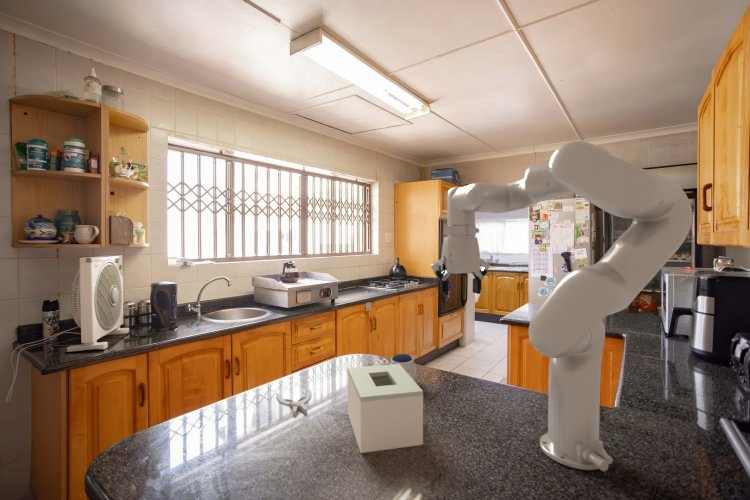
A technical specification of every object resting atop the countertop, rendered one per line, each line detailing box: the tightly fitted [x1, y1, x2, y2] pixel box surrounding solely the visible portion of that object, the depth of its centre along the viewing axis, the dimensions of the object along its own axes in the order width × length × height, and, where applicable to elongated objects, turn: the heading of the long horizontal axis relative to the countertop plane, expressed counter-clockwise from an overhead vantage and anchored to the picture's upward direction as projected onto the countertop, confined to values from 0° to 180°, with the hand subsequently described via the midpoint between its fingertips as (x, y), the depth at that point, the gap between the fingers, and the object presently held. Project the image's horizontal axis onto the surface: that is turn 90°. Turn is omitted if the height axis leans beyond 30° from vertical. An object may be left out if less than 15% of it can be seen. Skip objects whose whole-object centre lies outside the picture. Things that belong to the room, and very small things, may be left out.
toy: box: [366, 353, 418, 381], centre depth 111 cm, size 18×9×20 cm
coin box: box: [347, 364, 424, 454], centre depth 87 cm, size 18×14×12 cm
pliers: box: [276, 388, 312, 417], centre depth 101 cm, size 10×2×15 cm
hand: (460, 293), depth 101 cm, fingers open, 9 cm apart
